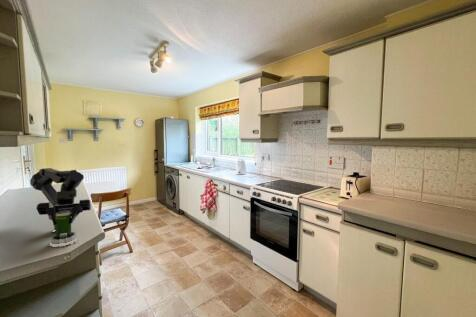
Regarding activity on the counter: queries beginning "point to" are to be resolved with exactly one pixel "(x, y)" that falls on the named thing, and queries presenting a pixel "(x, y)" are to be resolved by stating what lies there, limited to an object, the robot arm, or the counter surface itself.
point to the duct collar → (64, 240)
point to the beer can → (63, 224)
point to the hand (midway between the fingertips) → (62, 224)
